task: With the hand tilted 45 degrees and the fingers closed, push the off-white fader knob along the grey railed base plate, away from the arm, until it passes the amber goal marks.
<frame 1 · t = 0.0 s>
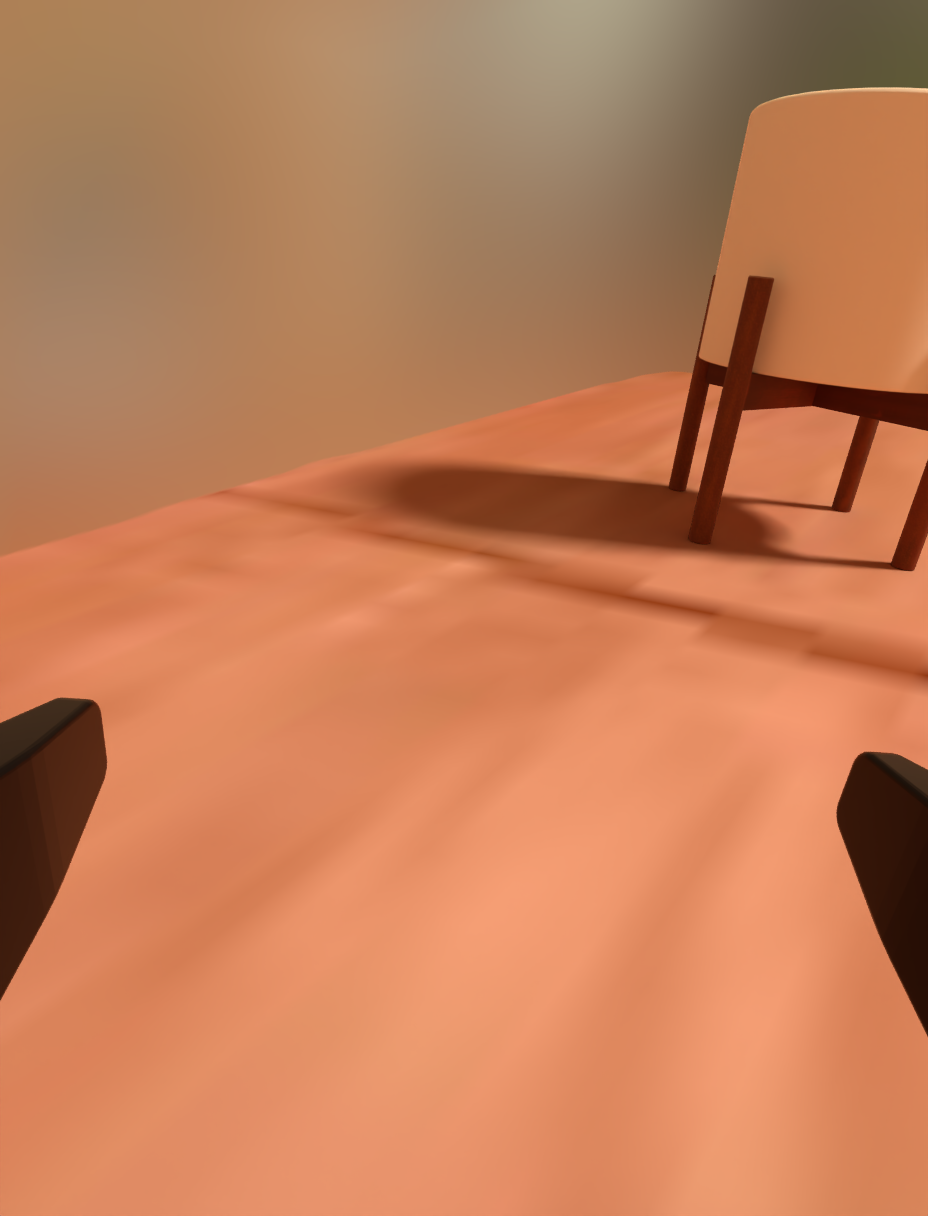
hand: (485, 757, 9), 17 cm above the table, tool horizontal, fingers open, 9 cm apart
plant pot with stand: (776, 525, 78), on the table
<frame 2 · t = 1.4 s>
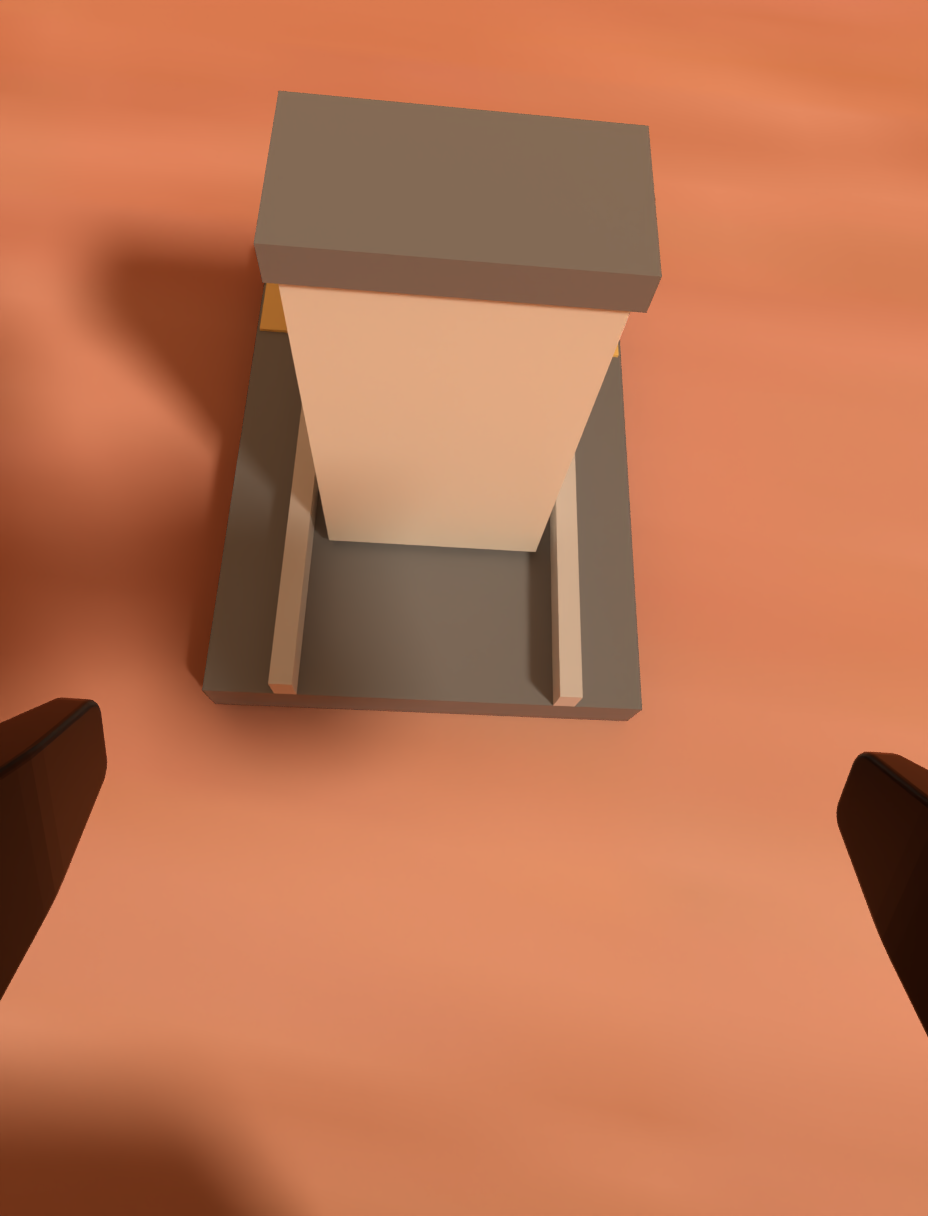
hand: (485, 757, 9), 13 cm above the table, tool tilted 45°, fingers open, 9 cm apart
fader knob: (445, 386, 17), point 7 cm above the table, slide at -2.0 cm
grey railed base plate: (435, 473, 25), on the table
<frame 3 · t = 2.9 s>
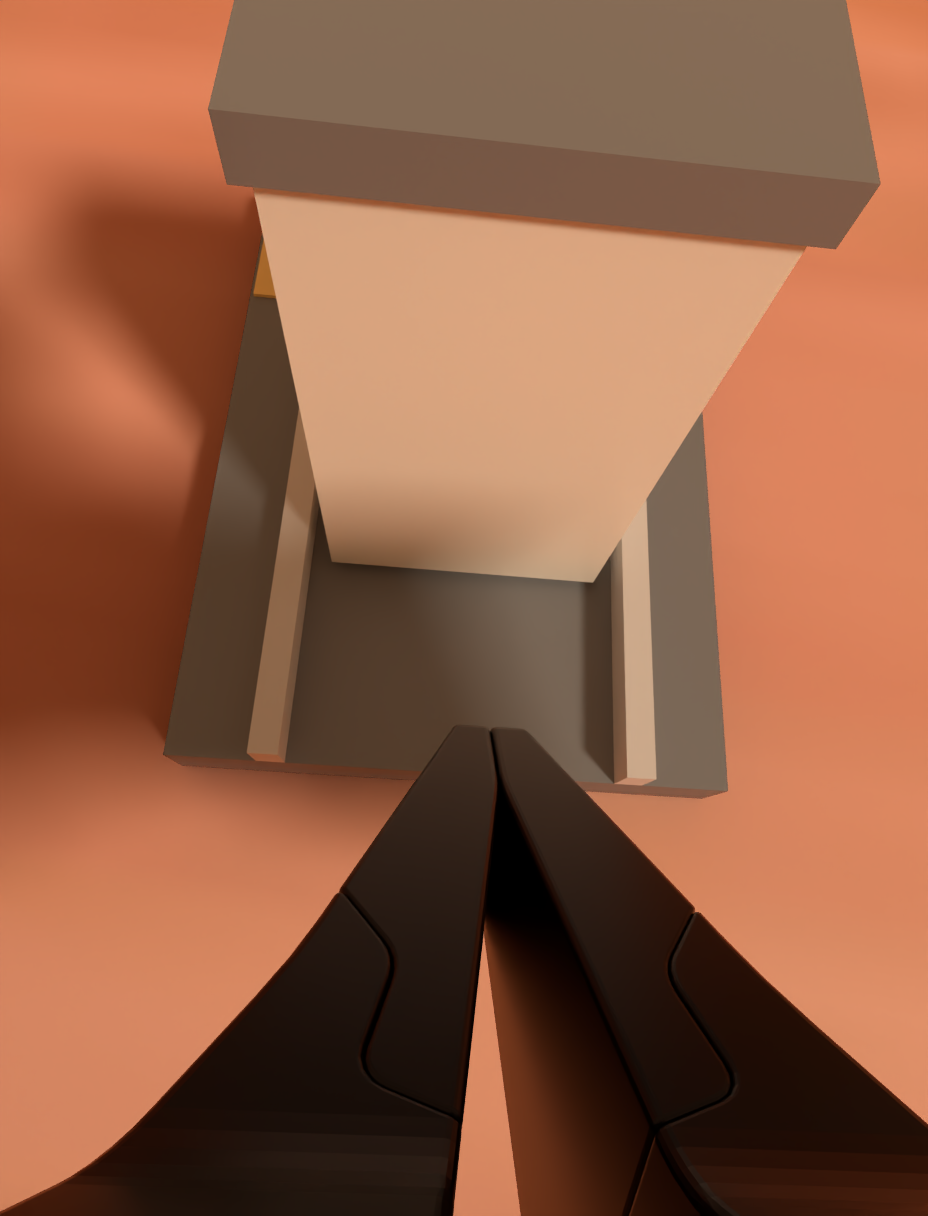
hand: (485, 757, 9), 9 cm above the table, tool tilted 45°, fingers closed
fader knob: (493, 366, 13), point 7 cm above the table, slide at -2.0 cm
grey railed base plate: (465, 477, 20), on the table
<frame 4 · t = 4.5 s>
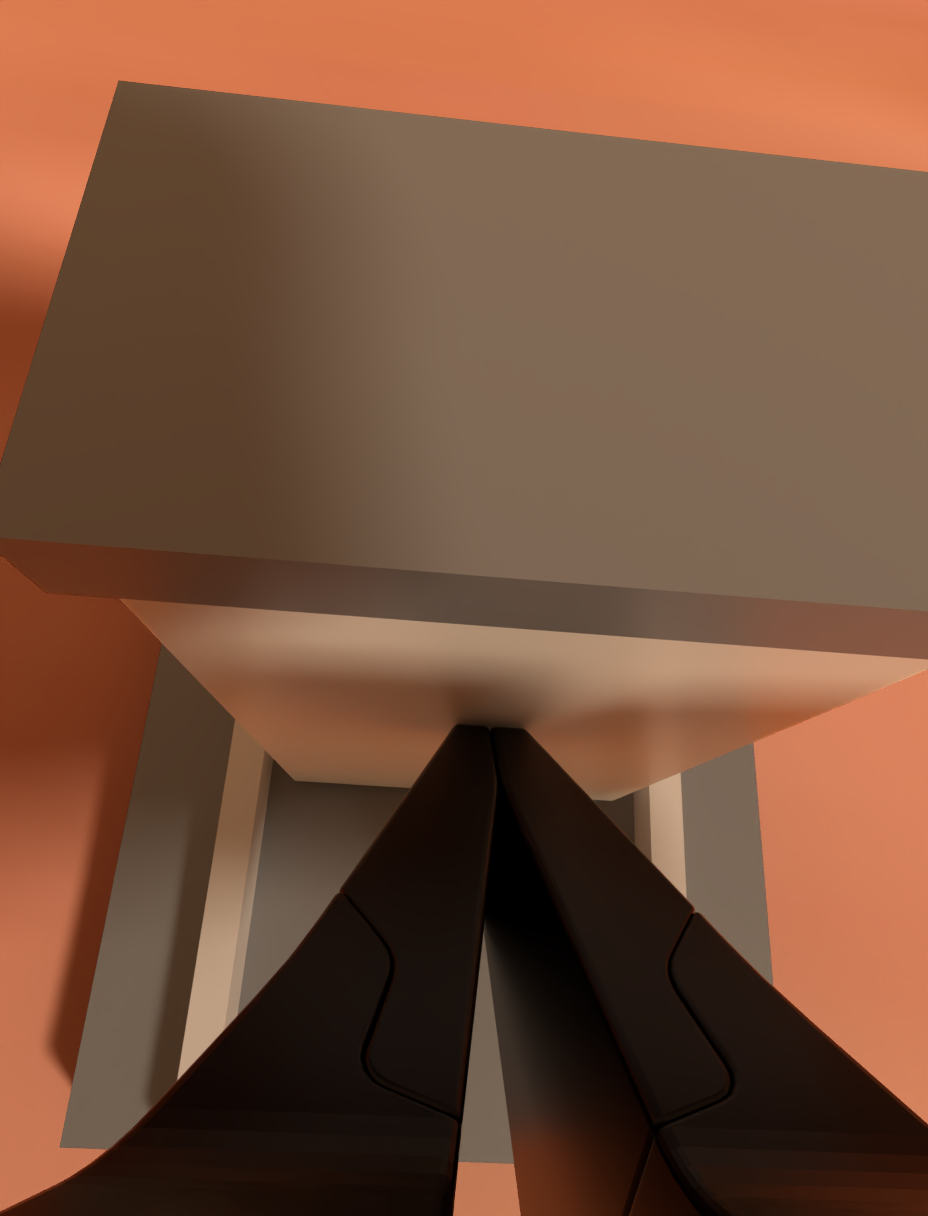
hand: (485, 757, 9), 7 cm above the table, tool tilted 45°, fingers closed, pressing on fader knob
fader knob: (490, 620, 10), point 7 cm above the table, slide at -0.6 cm, touching gripper
grey railed base plate: (455, 704, 17), on the table
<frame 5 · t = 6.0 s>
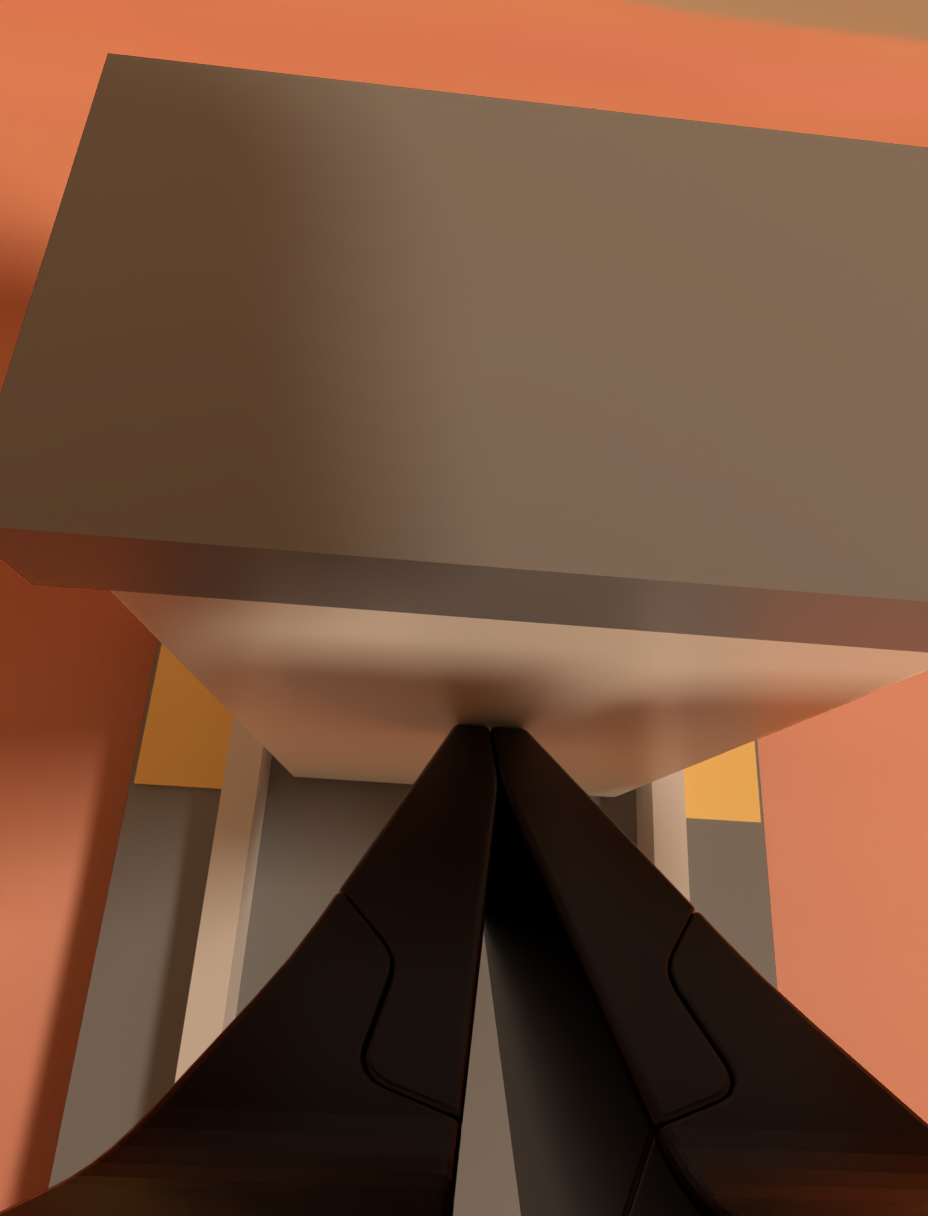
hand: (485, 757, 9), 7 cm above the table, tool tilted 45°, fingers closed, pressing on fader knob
fader knob: (492, 614, 10), point 7 cm above the table, slide at 5.8 cm, touching gripper
grey railed base plate: (437, 1028, 14), on the table
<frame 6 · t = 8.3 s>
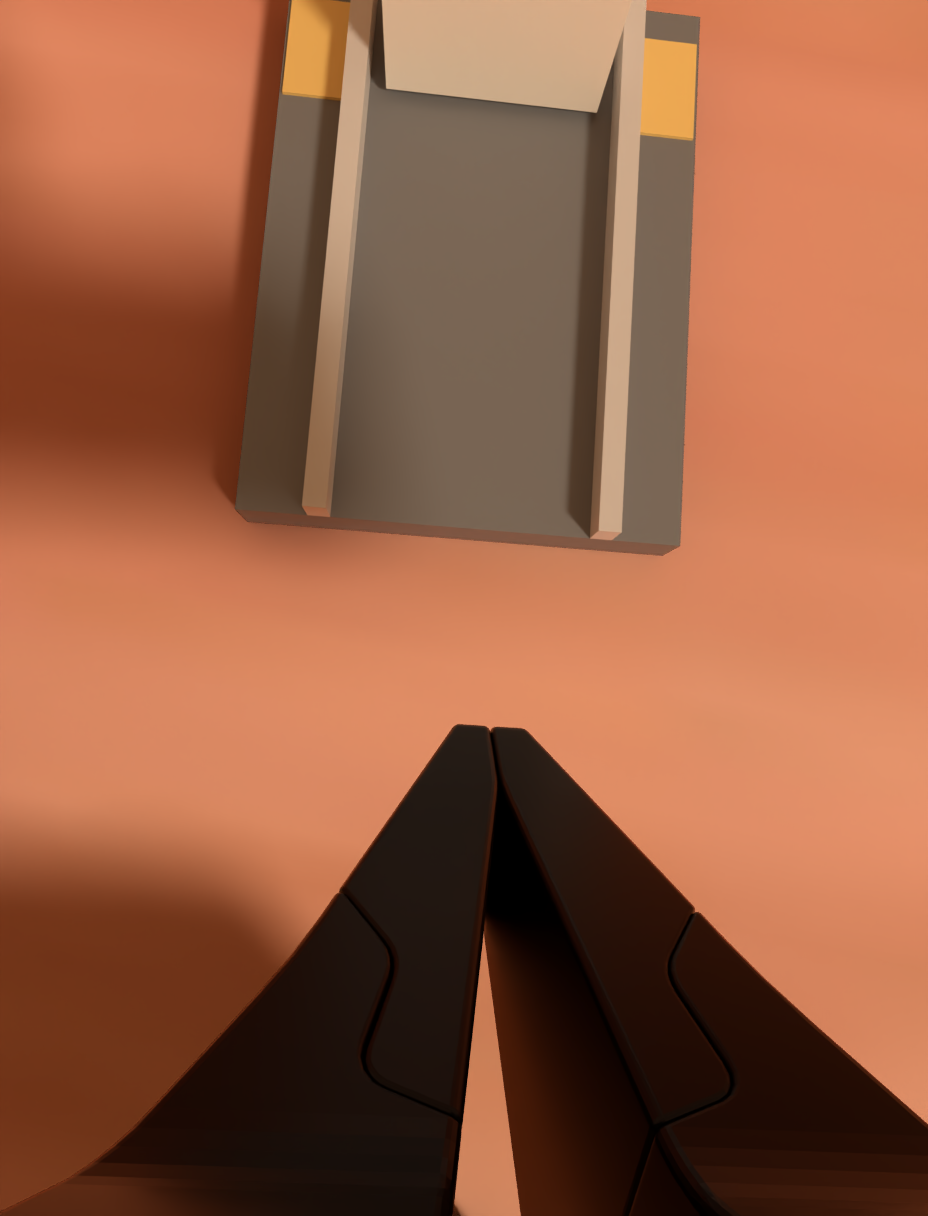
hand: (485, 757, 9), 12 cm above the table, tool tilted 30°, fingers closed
grey railed base plate: (476, 277, 23), on the table
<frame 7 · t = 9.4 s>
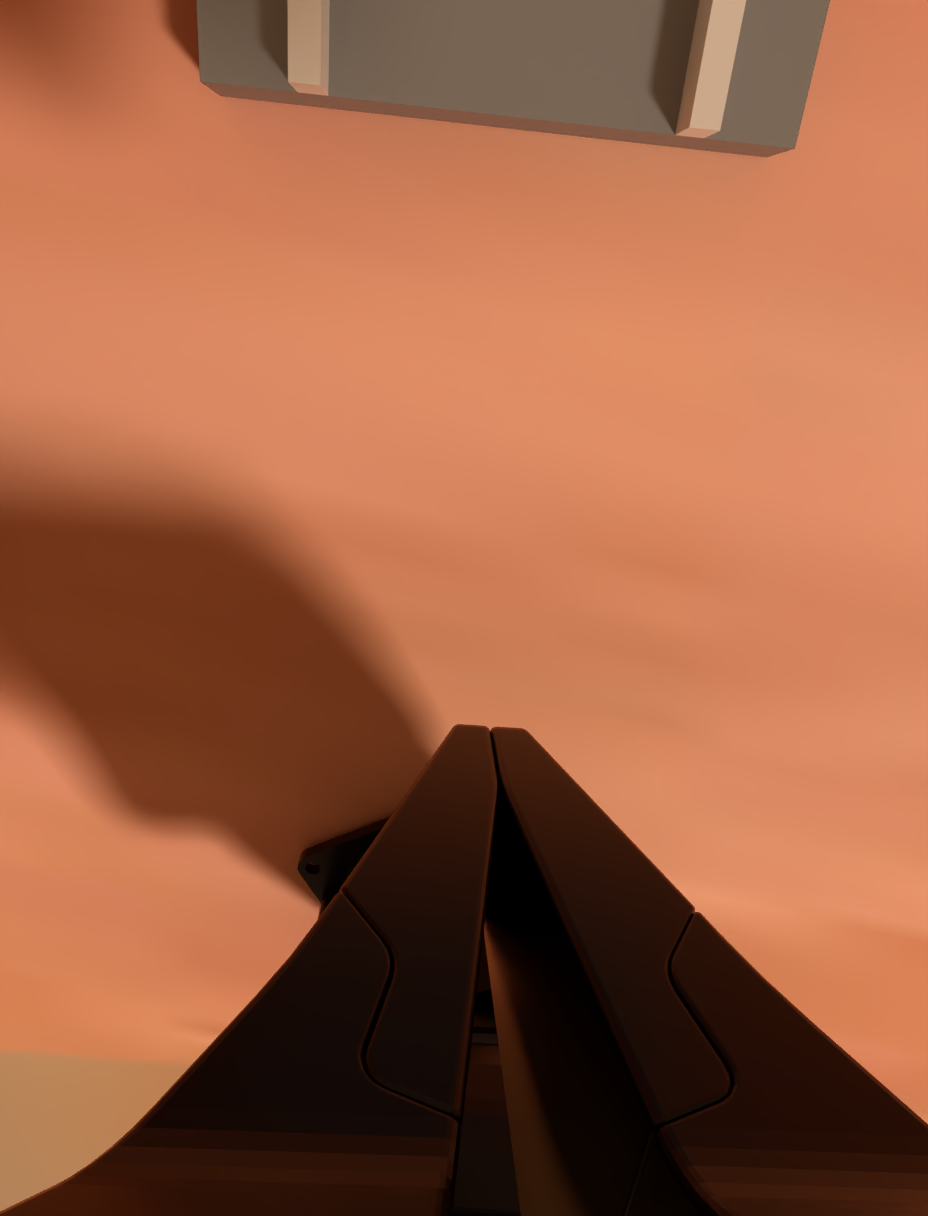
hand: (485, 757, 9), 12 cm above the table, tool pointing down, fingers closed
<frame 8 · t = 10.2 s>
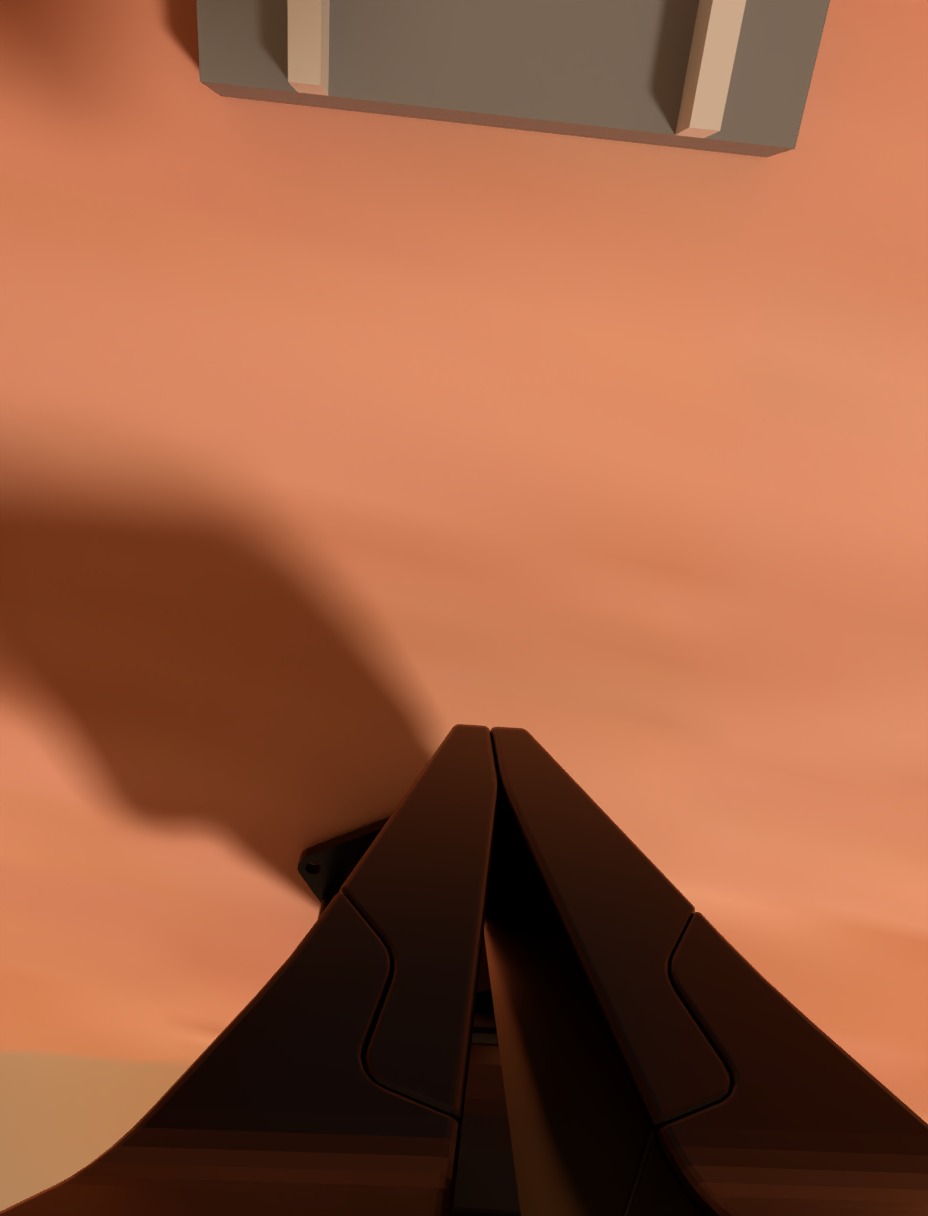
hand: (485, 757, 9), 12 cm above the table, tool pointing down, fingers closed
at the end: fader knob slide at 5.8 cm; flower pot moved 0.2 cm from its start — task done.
